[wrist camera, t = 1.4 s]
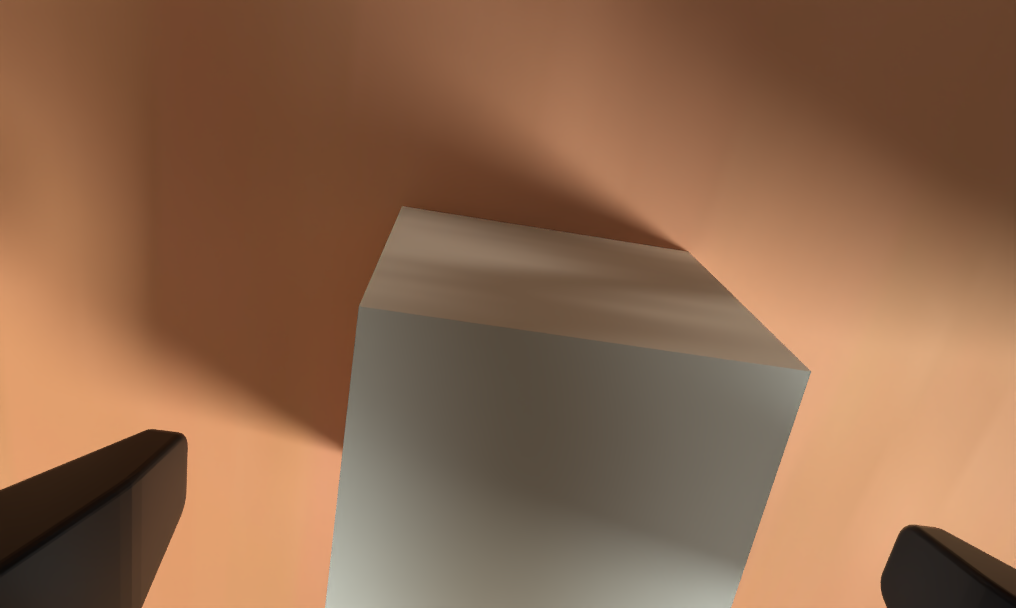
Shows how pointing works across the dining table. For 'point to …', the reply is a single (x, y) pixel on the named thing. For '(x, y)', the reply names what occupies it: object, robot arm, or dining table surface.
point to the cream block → (553, 424)
